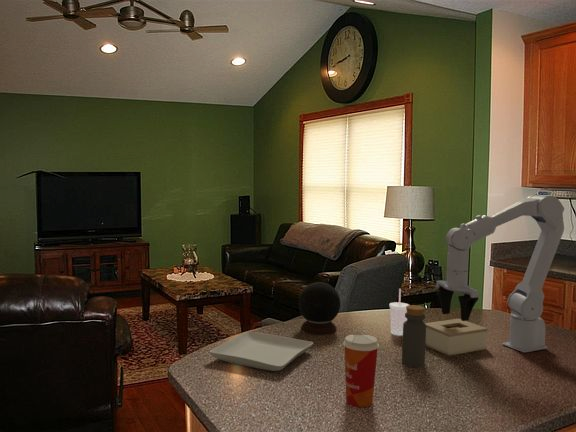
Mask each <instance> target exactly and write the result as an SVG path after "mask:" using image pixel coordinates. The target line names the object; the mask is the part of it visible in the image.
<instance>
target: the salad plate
mask: <svg viewBox="0 0 576 432" xmlns="http://www.w3.org/2000/svg"><path fill="white" fill-rule="evenodd" d="M313 345H314V342H313V341H309V340H303V339H298V338H293V337H286V336H282V335H277V334H276V335H275V334H269V333H263V332H256V331H245V332H243V333H241V334H240V335H237V336H234V337H233V338H231V339H229V340H228V341H225V342H223V343H222V344H220V345H218V346H216V347H214V348H212V349H210V350H209V351H208V352H209V354H210V355H211V356H212V357H214V358H215V359H217V360H220V361H225V362H227V363H230V364H234V365H239V366H243V367H247V368H248V367H249V368H254V369H257V370H258V369H259V370H263V371H271V372H279V371H282V370H284V368H285V367H287V366H288V365H289V364H290V363H291V362H293V361H294V360H295V359H297V358H298V357H300V356H301V355H303V354H304V353H306V352H307V351H309V349H311V348H312V346H313Z"/></svg>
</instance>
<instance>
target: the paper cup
mask: <svg viewBox="0 0 576 432" xmlns="http://www.w3.org/2000/svg"><path fill="white" fill-rule="evenodd" d="M342 345H343V347H344V369H345V370H344V371H345V372H344V374H345V375H344V376H345V377H344V378H345V399H346V404H348V405H349V406H351V407H353V408H354V407H355V408H367V407H370V406H372V405H373V400H374V399H373V398H374V392H375V391H374V390H375V382H376V381H375V379H376V370H377V368H376V367H377V359H378V358H377V357H378V349H379V347H380V344H379V342H378V339H377V337H375V336H372V335H370V334H369V335H368V334H361V333H360V334H355V335H354V334H349V335H346V337H345V338H344V341H343V343H342Z"/></svg>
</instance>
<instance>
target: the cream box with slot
mask: <svg viewBox="0 0 576 432" xmlns="http://www.w3.org/2000/svg"><path fill="white" fill-rule="evenodd" d="M424 323H425V322H424ZM425 324H426V346H425V347H428V348H431V349H433V350H434V351H437V352H440V353H442V354H444V355H446V356H453V355H454V356H456V355H459V354H460V355H461V354H466V353H467V354H468V353H471V352H477V351H483V350H487V348H488V347H487V343H488V328H487V327H484V326H482V325H479V324H475V323H473V322H471V321H469V320H468V321H461V318H453V319H447V320H439V321H431V322H426V323H425ZM454 327H460V328H456V329H449V328H454Z"/></svg>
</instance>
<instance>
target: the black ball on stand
mask: <svg viewBox="0 0 576 432" xmlns="http://www.w3.org/2000/svg"><path fill="white" fill-rule="evenodd" d="M340 309H341V298H340V295H339V292H338V291H337V290H336V289H335V287H334V286H332V285H331V284H329V283H327V282H323V281H317V282H316V281H315V282H313V283H309V284H307V286H305V287H304V288H303V289H302V291H301V292H300V294H299V296H298V310H299V313H300V314H301V316H302V317H303V318H304V319H305V321H304V322H303V323H302V324H301V325H300V330H301V331H302V332H303V333H306V334H309V335H316V336H323V335H324V336H325V335H326V336H328V335H331V334H335V333H336V332H337V328H338V327H337V326H336V325H335V323H334V322H332V321H333V320H335V318H336V317H337V316H338V314H339V313H340Z"/></svg>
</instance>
